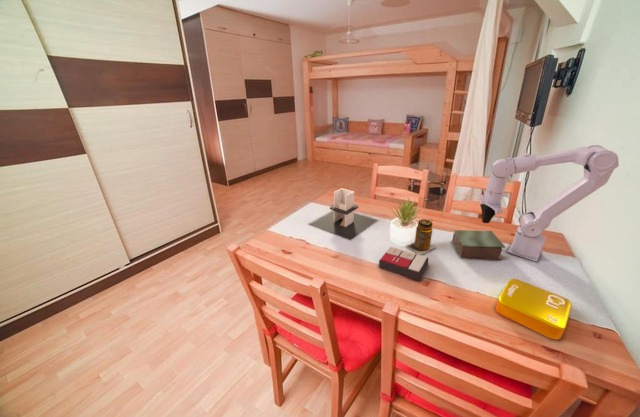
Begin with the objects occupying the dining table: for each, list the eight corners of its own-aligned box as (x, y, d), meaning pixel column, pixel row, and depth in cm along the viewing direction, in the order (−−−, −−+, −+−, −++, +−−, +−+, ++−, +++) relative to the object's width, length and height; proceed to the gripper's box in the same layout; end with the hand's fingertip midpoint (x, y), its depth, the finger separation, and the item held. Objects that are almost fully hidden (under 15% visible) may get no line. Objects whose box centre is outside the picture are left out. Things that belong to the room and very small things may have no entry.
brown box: (486, 244, 110) (489, 233, 108) (498, 260, 100) (502, 248, 97) (451, 242, 112) (453, 231, 110) (460, 258, 102) (462, 246, 100)
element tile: (507, 286, 87) (511, 275, 85) (567, 311, 76) (573, 298, 74) (493, 311, 77) (497, 299, 75) (559, 343, 67) (565, 330, 65)
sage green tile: (491, 232, 107) (491, 230, 107) (504, 247, 97) (505, 246, 97) (453, 231, 110) (454, 230, 110) (462, 246, 100) (463, 245, 99)
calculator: (390, 245, 105) (429, 255, 96) (389, 254, 107) (428, 265, 98) (378, 259, 97) (420, 271, 88) (378, 268, 99) (419, 281, 90)
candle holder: (309, 224, 132) (307, 194, 125) (338, 208, 148) (337, 180, 142) (350, 240, 117) (350, 206, 110) (377, 220, 133) (379, 190, 127)
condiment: (433, 248, 108) (438, 222, 104) (420, 255, 104) (424, 229, 99) (419, 240, 114) (422, 216, 109) (406, 247, 110) (409, 221, 105)
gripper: (476, 184, 107) (468, 213, 113) (491, 197, 94) (481, 230, 100) (494, 184, 106) (486, 214, 112) (513, 198, 93) (501, 231, 99)
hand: (485, 222), depth 106 cm, fingers closed
